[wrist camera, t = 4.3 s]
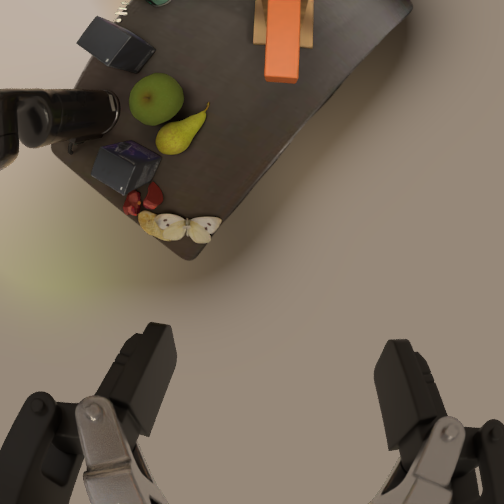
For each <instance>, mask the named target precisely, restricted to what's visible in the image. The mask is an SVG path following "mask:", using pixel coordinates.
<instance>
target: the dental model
mask: <svg viewBox="0 0 504 504" xmlns="http://www.w3.org/2000/svg"><path fill="white" fill-rule="evenodd" d="M140 200H141V199H140V192H138V193H137V191H136V190H133V191H131V192H129V193H128V195H127V198H126V200H125V203H124V205H123V210H124V213H125V214H126V215H130V214H132V215H135V216H136V215H137V214H139V212H140V207H141V206H140V204H141V202H140ZM162 202H163V194H162V192H161V190H160V188H159V187H158V186H157V185H156V184H155V183H154V182H152V183H150V185H149V187H148V194H147V196H146V197H145V199H144V201H143V203H144V204H143V206H144V207H145V208H148V209H155V208H156V207H157V205H160V204H161V203H162Z"/></svg>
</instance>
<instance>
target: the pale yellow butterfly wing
mask: <svg viewBox="0 0 504 504" xmlns="http://www.w3.org/2000/svg"><path fill="white" fill-rule="evenodd" d="M156 215H157V214H154V213H152V212H150V211H147V210H143V211H142V212H140V214H138V220H139V223H140V225H141V227H142V228H143V229H144V231H146V232H147V233H148V234H150V235H153V236H155V237H157V238H159V239H161V240H165V241H170V240H169V239H164V238H163V236H162V234H163V232H164V230H161V229H160V228H159V227H158V225H157V224H156V222H155V221H154V217H155V216H156Z"/></svg>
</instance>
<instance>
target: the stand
mask: <svg viewBox="0 0 504 504" xmlns="http://www.w3.org/2000/svg"><path fill="white" fill-rule="evenodd" d="M267 8H268V0H255V17H254V35H253V44H254V45H266V29H267ZM300 47H302V48H311V49H312V47H313V0H301V14H300Z"/></svg>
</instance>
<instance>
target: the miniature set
mask: <svg viewBox="0 0 504 504" xmlns="http://www.w3.org/2000/svg"><path fill="white" fill-rule="evenodd" d="M122 4H129V3H125V2H122ZM119 9H122V10H127V9H126V8H121V7H119ZM117 14H119V15H125V14H127V13H125V12H119V11H118V12H116V15H117ZM115 20H117V22H120V21H121V19H115Z"/></svg>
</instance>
